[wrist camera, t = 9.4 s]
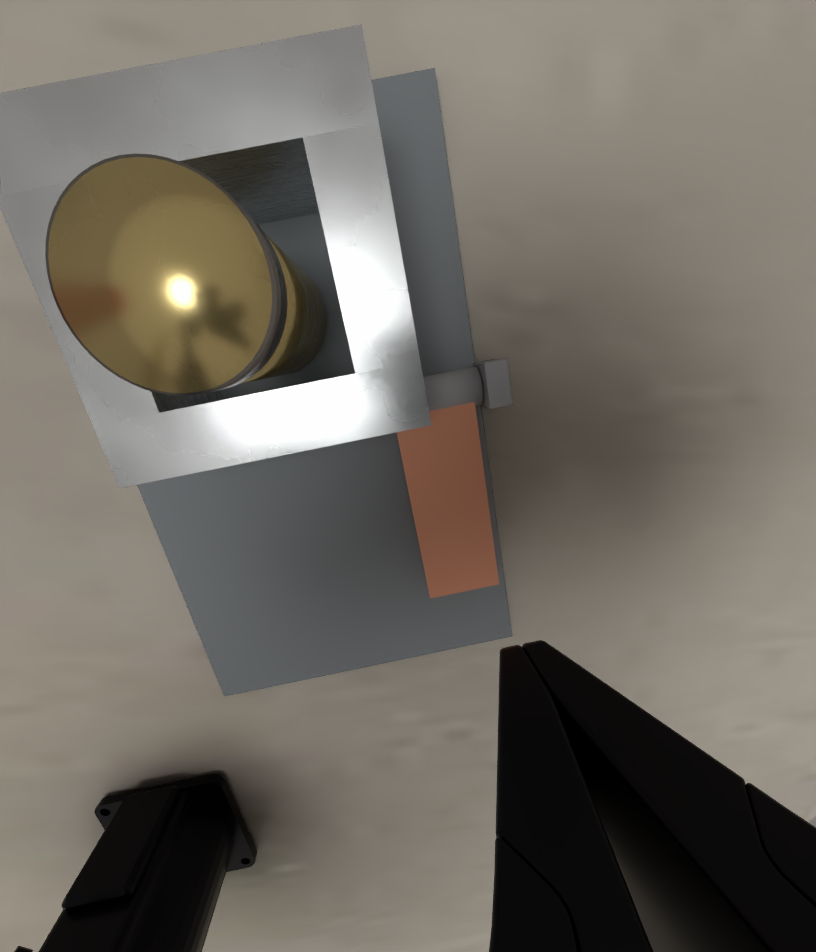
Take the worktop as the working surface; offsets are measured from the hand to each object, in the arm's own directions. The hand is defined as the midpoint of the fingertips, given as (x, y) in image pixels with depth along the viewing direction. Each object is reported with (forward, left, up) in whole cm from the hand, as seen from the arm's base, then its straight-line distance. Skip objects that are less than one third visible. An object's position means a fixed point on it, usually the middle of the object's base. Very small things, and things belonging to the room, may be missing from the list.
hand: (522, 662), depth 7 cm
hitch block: (+9, +5, -10) cm, 14 cm away
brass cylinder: (+8, +5, -9) cm, 13 cm away
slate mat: (+4, +5, -10) cm, 11 cm away
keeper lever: (+1, 0, -9) cm, 9 cm away
